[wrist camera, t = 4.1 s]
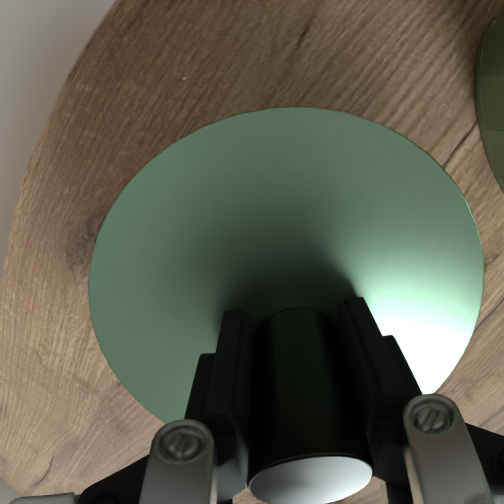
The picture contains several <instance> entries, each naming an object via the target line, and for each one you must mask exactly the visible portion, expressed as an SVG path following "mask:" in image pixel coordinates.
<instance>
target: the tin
mask: <svg viewBox="0 0 504 504" xmlns="http://www.w3.org/2000/svg"><path fill="white" fill-rule="evenodd" d="M475 97H476V108H477V115H478V122H479V127H480V132H481V137H482V140H483V144H484V148H485V152H486V155H487V158H488V160H489V163H490V166H491V169H492V171H493V173H494V176H495V178H496V180H497V182H498V184H499V186H500V188H501V189H502V191H503V193H504V12H503V13H501V15H500V16H498V17H496V18H495V19H494V20H493V21H492V22H491V23H490V24H489V26H488V27H487V29H486V31H485V32H484V34H483V37H482V39H481V42H480V44H479V49H478V53H477V59H476V68H475Z"/></svg>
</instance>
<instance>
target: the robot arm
mask: <svg viewBox="0 0 504 504" xmlns="http://www.w3.org/2000/svg"><path fill="white" fill-rule="evenodd" d="M337 334H338V337H339V340H340V344H341V347H342V350H343V353H344V357H345V360H346V364H347V367H348V370H349V374H350V377H351V381H352V384H353V388H354V391H355V395H356V398H357V402H358V406H359V409H360V413H361V417H362V420H363V424H364V428H365V432H366V436H367V440H368V444H369V447H370V451H371V455H372V460H373V464H374V474H373V476H375V477H377V478H379V479H380V484H381V491H382V498H383V504H504V436H502V435H499V434H496V433H493V432H490V431H487V430H485V429H482V428H479V427H476V426H473V425H470V424H468V423H465V422H464V420H463V417H462V415H461V413H460V411H459V408H458V407H457V405H456V404H455V402H453V401H452V400H451V399H450V398H448V397H446V396H443V395H441V394H435V393H427V394H423V393H422V391H421V389H420V387H419V384H418V382H417V380H416V378H415V376H414V374H413V372H412V370H411V368H410V366H409V364H408V362H407V360H406V358H405V356H404V354H403V352H402V350H401V348H400V346H399V345H398V343H397V341H396V339H395V337H394V336H393V335H385V336H383V335H382V333H381V331H380V329H379V327H378V325H377V323H376V321H375V319H374V317H373V315H372V313H371V311H370V309H369V307H368V305H367V303H366V301H365V299H364V298H363V297H355V298H347V299H345V300H344V304H339V305H338V330H337ZM253 358H254V337H253V330H252V323H251V316H250V313H243V309H234V310H224V312H223V317H222V322H221V327H220V332H219V337H218V342H217V347H216V352H215V353H202V354H201V355H200V357H199V360H198V364H197V368H196V372H195V376H194V379H193V383H192V387H191V391H190V396H189V400H188V404H187V408H186V412H185V416H184V419H181V420H175V421H173V422H170V423H167V424H166V425H164V426H163V427H161V428H160V429H159V430H158V431H157V433H156V434H155V436H154V438H153V440H152V444H151V448H150V453H149V454H148V455H147V456H145V457H143V458H141V459H140V460H138V461H136V462H134V463H133V464H131V465H129V466H127V467H125V468H123V469H122V470H120V471H118V472H116V473H114V474H112V475H110V476H108V477H106V478H104V479H103V480H101V481H99V482H97V483H95V484H93V485H91V486H89V487H88V488H86V489H85V490H84V491H83V492H82V494H81V495H76V494H75V493H74V492H70V493H63V494H54V495H43V496H30V497H20V498H16V499H14V500H13V501H11V502H10V504H236V495H237V494H239V493H240V492H241V491H243V490H244V489H245V487H246V484H247V471H248V452H249V439H250V419H251V399H252V379H253Z"/></svg>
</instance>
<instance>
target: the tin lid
mask: <svg viewBox="0 0 504 504" xmlns="http://www.w3.org/2000/svg"><path fill="white" fill-rule="evenodd" d="M88 290H89V308H90V313H91V318H92V323H93V328H94V331H95V334H96V337H97V340H98V342H99V345H100V348H101V350H102V352H103V354H104V356H105V358H106V360H107V362H108V364H109V366H110V367H111V369H112V370H113V372H114V373H115V375H116V376H117V378H118V379H119V380H120V382H121V383H122V385H123V386H124V387H125V388H126V389H127V390H128V391H129V393H130V394H131V395H132V396H133V397H134V398H135V399H136V400H137V401H138V402H139V403H140V404H141V405H142V406H144V407H145V408H146V409H147V410H148V411H149V412H150V413H152V414H153V415H154V416H156V417H157V418H159V419H160V420H161V421H163V422H164V423H166V424H167V423H170V422H173V421H175V420H181V419H184V416H185V412H186V408H187V404H188V400H189V396H190V391H191V387H192V383H193V379H194V376H195V372H196V368H197V364H198V360H199V357H200V355H201V354H202V353H215V352H216V347H217V342H218V337H219V332H220V327H221V322H222V317H223V312H224V310H234V309H243V313H250V316H251V323H252V330H253V337H254V358H253V379H252V399H251V419H250V439H249V452H248V471H247V487H248V489H249V491H250V493H251V494H252V495H253V496H254V497H256V498H257V499H259V500H261V501H264V502H267V503H270V504H326V503H330V502H334V501H337V500H340V499H343V498H345V497H347V496H350V495H352V494H354V493H356V492H357V491H359V490H360V489H362V488H363V487H364V486H366V485H367V484H368V483H369V481H370V480H371V479H372V477H373V474H374V464H373V460H372V455H371V451H370V447H369V444H368V440H367V436H366V432H365V428H364V424H363V420H362V417H361V413H360V409H359V406H358V402H357V398H356V395H355V391H354V388H353V384H352V381H351V377H350V374H349V370H348V367H347V364H346V360H345V357H344V353H343V350H342V347H341V344H340V340H339V337H338V334H337V330H338V305H339V304H344V300H345V299H347V298H355V297H363V298H364V299H365V301H366V303H367V305H368V307H369V309H370V311H371V313H372V315H373V317H374V319H375V321H376V323H377V325H378V327H379V329H380V331H381V333H382V335H383V336H385V335H393V336H394V337H395V339H396V341H397V343H398V345H399V346H400V348H401V350H402V352H403V354H404V356H405V358H406V360H407V362H408V364H409V366H410V368H411V370H412V372H413V374H414V376H415V378H416V380H417V382H418V384H419V387H420V389H421V391H422V393H423V394H427V393H434V392H435V391H436V390H437V389H438V388H439V387H440V386H441V384H442V383H443V382H444V381H445V379H446V378H447V377H448V376H449V374H450V373H451V372H452V370H453V369H454V367H455V366H456V364H457V363H458V361H459V359H460V358H461V356H462V355H463V353H464V351H465V349H466V347H467V345H468V343H469V341H470V338H471V336H472V334H473V331H474V329H475V325H476V322H477V319H478V316H479V313H480V308H481V303H482V297H483V291H484V259H483V250H482V244H481V240H480V236H479V232H478V228H477V225H476V222H475V219H474V217H473V215H472V212H471V210H470V208H469V206H468V204H467V201H466V199H465V198H464V196H463V194H462V193H461V191H460V190H459V188H458V187H457V185H456V184H455V182H454V181H453V179H452V178H451V176H450V175H449V174H448V173H447V172H446V171H445V170H444V169H443V168H442V167H441V166H440V165H439V163H438V162H437V161H436V160H435V159H434V158H433V157H432V156H431V155H430V154H428V153H427V152H426V151H424V150H423V149H422V148H421V147H419V146H418V145H417V144H415V143H414V142H413V141H411V140H410V139H408V138H407V137H405V136H403V135H402V134H400V133H398V132H396V131H394V130H392V129H390V128H388V127H386V126H384V125H382V124H380V123H378V122H375V121H372V120H369V119H366V118H363V117H360V116H357V115H354V114H351V113H347V112H342V111H336V110H330V109H323V108H316V107H275V108H268V109H262V110H256V111H251V112H245V113H240V114H237V115H234V116H231V117H228V118H225V119H222V120H219V121H216V122H213V123H210V124H207V125H205V126H203V127H201V128H199V129H197V130H195V131H193V132H191V133H190V134H188V135H186V136H184V137H182V138H180V139H178V140H177V141H175V142H173V143H172V144H171V145H169V146H168V147H167V148H165V149H164V150H163V151H161V152H160V153H159V154H157V155H156V156H155V157H153V158H152V159H151V160H150V161H148V162H147V163H146V164H145V165H144V166H143V167H142V168H141V169H140V170H139V171H138V172H137V174H136V175H135V176H134V177H133V178H132V179H131V180H130V181H129V182H128V183H127V184H126V185H125V187H124V188H123V190H122V191H121V193H120V194H119V196H118V197H117V199H116V200H115V202H114V203H113V205H112V206H111V208H110V209H109V211H108V213H107V215H106V217H105V220H104V222H103V224H102V226H101V228H100V231H99V233H98V236H97V239H96V243H95V246H94V250H93V253H92V257H91V263H90V272H89V281H88Z"/></svg>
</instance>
